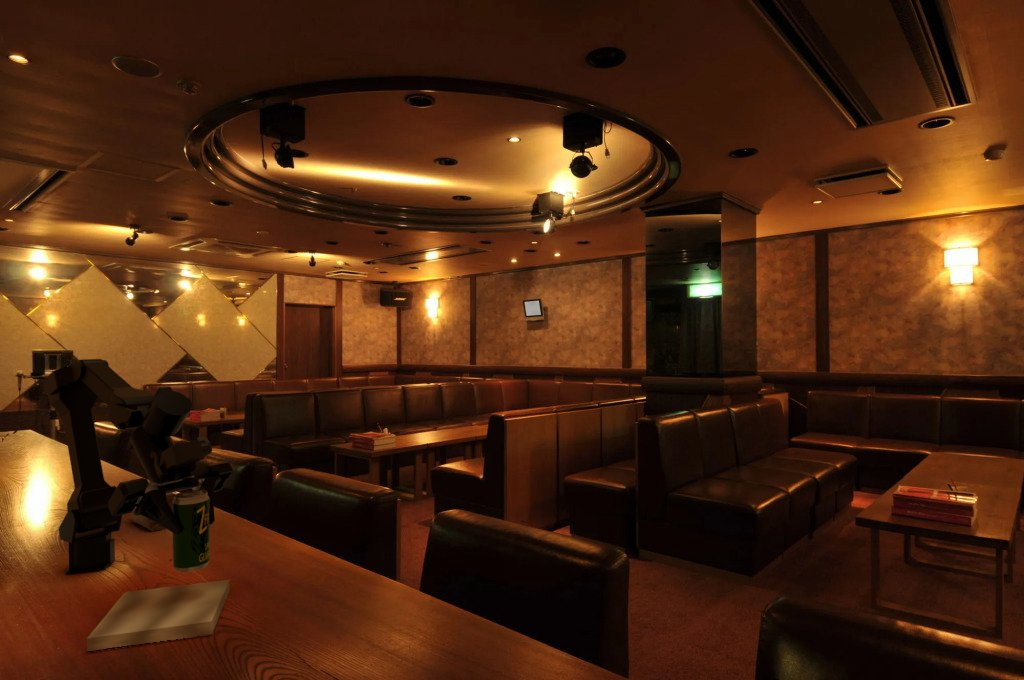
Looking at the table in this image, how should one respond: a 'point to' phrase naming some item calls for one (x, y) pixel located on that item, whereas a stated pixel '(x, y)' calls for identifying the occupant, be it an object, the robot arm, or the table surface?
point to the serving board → (161, 615)
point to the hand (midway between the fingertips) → (196, 527)
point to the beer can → (191, 530)
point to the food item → (147, 522)
